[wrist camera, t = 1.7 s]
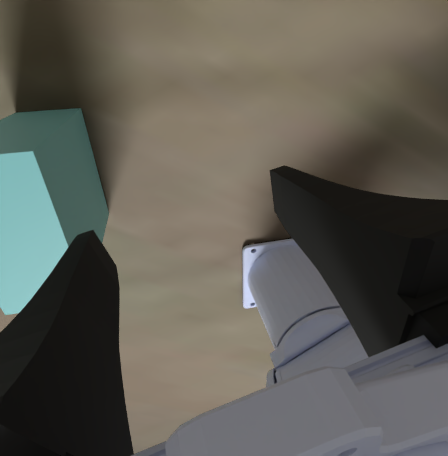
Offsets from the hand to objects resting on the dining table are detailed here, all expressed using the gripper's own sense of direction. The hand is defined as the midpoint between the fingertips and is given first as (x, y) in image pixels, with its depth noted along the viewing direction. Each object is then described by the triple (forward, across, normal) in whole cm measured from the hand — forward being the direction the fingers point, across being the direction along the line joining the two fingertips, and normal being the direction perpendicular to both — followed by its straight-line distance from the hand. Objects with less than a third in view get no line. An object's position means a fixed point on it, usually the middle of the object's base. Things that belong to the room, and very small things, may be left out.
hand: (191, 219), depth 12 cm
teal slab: (+13, +7, +1) cm, 15 cm away
